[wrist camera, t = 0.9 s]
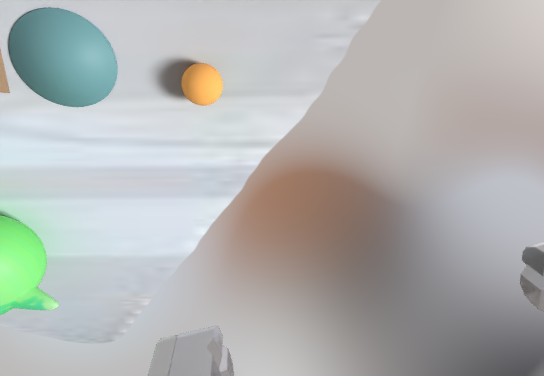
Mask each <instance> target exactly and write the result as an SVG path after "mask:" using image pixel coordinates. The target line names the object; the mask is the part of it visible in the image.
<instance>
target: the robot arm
mask: <svg viewBox="0 0 544 376" xmlns="http://www.w3.org/2000/svg"><path fill="white" fill-rule="evenodd" d="M522 260H523V262H524V263H525V264H526V265H527V266H526V268H525V269H524V270H523V271H522V273H521V278H520V285H521V287H522V290H523V292H524V295H525V296H526V297H527V298H528V300H529V301H530V302H531V303H532V304H533V305H534V306H535V307H536V308H537V309H539V310H541V311H544V242H543V243H540V244H536V245H532V246H528V247H526V248H525V250H524V251H523V255H522ZM222 342H223V335H222V333H221V330H220V328H219V327H218V326H212V327H208V328H203V329H199V330H194V331H190V332H186V333H181V334H179V335H175V336H170V337H166V338H161V339H160V340H159V342H158V343H157V344H156V348H155V351H154V355H153V359H152V362H151V366H150V370H149V373H148V376H234V371H233V363H232V359H231V355H230V353H229V350H228V348H227V347H225V346H224V345H222Z"/></svg>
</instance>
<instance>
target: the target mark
mask: <svg viewBox="0 0 544 376" xmlns="http://www.w3.org/2000/svg"><path fill="white" fill-rule="evenodd" d="M9 51H10V56H11V60H12V62H13V65H14V67H15V69H16V71H17V73H18V74H19V75H20V77H21V78H22V80H23V81H24V82H25V83H26V84H27V85H28V86H29V87H30V88H31V89H32V90H33V91H35V92H36V93H37V94H39V95H40V96H42V97H44V98H45V99H47V100H49V101H51V102H54V103H57V104H60V105H64V106H70V107H84V106H89V105H92V104H95V103H97V102H99V101H101V100H102V99H104V98H105V97H106V96H107V95H108V94H109V93H110V91H111V90H112V88H113V86H114V84H115V81H116V77H117V61H116V57H115V54H114V52H113V49H112V47H111V45H110V43H109V42H108V40H107V39H106V37H105V36H104V35H103V34H102V32H101V31H100V30H99V29H98V28H97V27H96V26H94V25H93V24H92V23H91V22H89V21H88V20H86V19H85V18H83V17H81V16H79V15H77V14H75V13H73V12H70V11H67V10H63V9H58V8H42V9H37V10H34V11H31V12H29V13H27V14H25V15H24V16H22V17H21V18H20V19H19V20H18V21H17V22H16V24H15V25H14V27H13V29H12V31H11V34H10V39H9Z"/></svg>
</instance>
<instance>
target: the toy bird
mask: <svg viewBox="0 0 544 376" xmlns="http://www.w3.org/2000/svg"><path fill="white" fill-rule="evenodd" d="M46 264H47V257H46V251H45V248H44V246H43V243H42V242H41V240H40V238H39V237H38V236H37V235H36V233H35V232H34V231H32V230H31V229H30V228H29V227H28V226H26V225H24V224H23V223H21V222H19V221H17V220H14V219H12V218H9V217H5V216H1V215H0V315H2V314H4V313H6V312H8V311H9V310H11V309H13V308H19V309H32V310H53V309H56V308H57V307H58V306H59V303H58V302H57V301H56V300H55V299H54V298H52V297H51V296H49V295H48V294H46V293H45V292H43V291H41V290H40V289H39V288H38V287H37V286H38V285H39V283H40V282H41V280H42V278H43V276H44V273H45V270H46Z"/></svg>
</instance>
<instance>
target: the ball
mask: <svg viewBox="0 0 544 376" xmlns="http://www.w3.org/2000/svg"><path fill="white" fill-rule="evenodd" d="M181 85H182V90H183V92H184V94H185V96H186V97H187V98H188V99H189V100H190V101H191V102H193V103H195V104H197V105H209V104H212V103H214V102H215V101H216V100H217V99H218V98H219V97H220V95H221V92H222V88H223V83H222V79H221V76H220V74H219V73H218V71H217V70H216V69H215V68H214V67H212V66H210V65H208V64H204V63H197V64H194V65H191V66H190V67H188V68H187V69H186V71H185V72H184V74H183V76H182V81H181Z"/></svg>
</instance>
